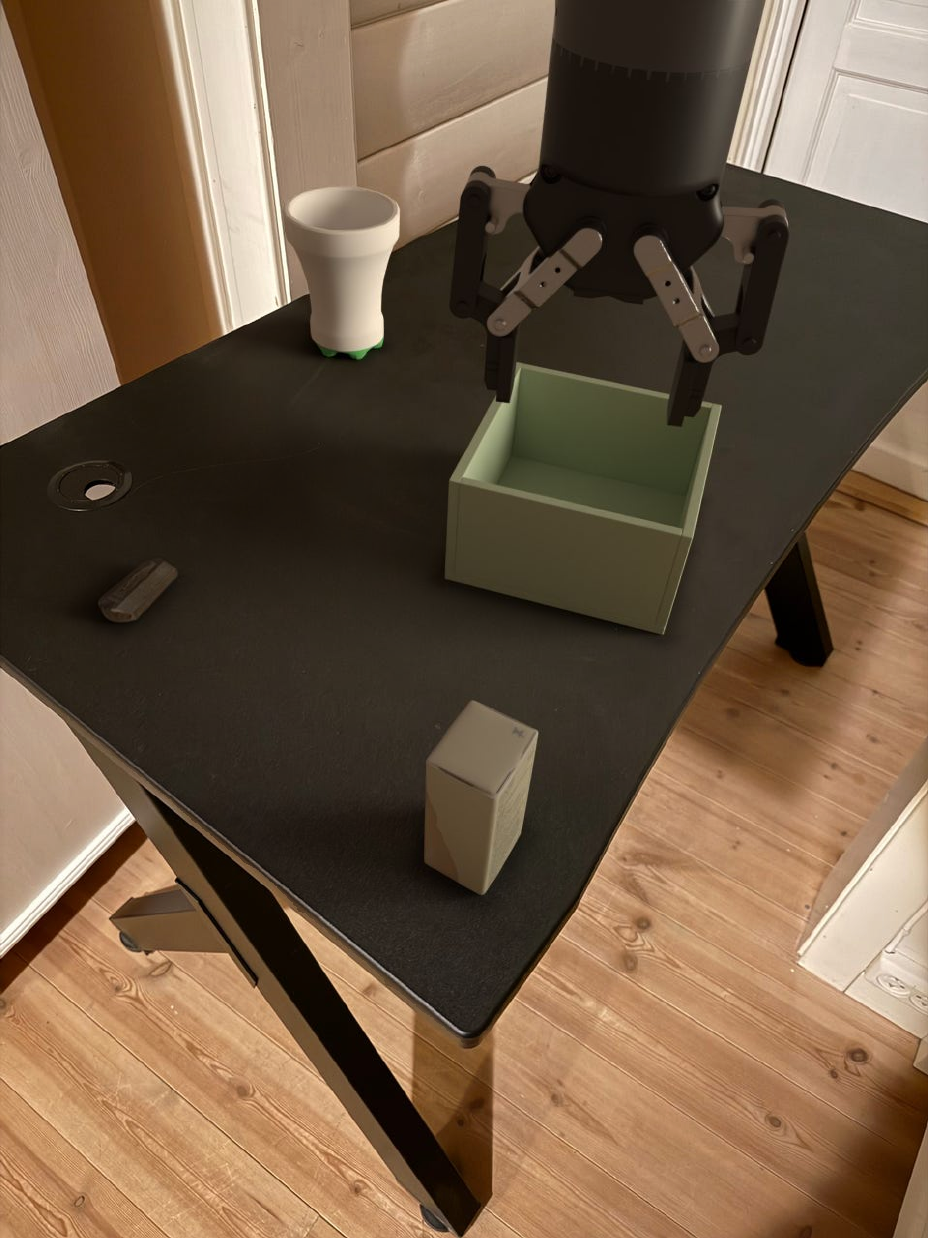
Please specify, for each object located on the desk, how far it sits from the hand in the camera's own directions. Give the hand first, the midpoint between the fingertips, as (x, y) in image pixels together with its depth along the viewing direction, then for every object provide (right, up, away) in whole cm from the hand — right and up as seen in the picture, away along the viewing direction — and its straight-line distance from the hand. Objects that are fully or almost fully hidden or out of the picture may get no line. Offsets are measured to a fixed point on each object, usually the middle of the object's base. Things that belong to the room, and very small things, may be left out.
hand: (589, 406), depth 45 cm
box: (-6, -25, +10) cm, 28 cm away
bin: (+3, -4, +31) cm, 31 cm away
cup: (-19, +19, +51) cm, 57 cm away
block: (-31, -9, +24) cm, 40 cm away
